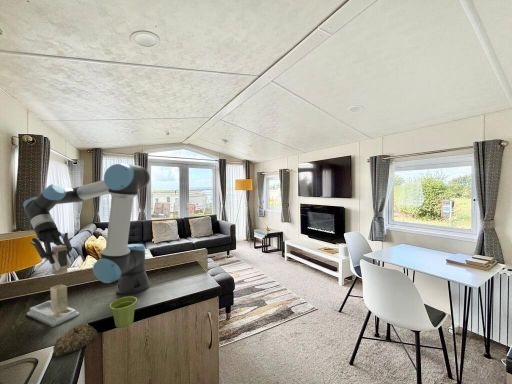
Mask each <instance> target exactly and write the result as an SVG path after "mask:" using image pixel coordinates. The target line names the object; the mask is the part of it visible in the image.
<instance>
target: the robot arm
mask: <svg viewBox="0 0 512 384" xmlns="http://www.w3.org/2000/svg"><path fill="white" fill-rule="evenodd" d="M150 176H151V175H150V173H149V171H148V170H147V169H146V168H145V167H144V166H140V165H133V164H127V163H114V164H112V165H110V166H108V168H106V170H105V172H104V174H103V179H102V180H98V181H95V182H92V183H88V184H84V185H80V186H76V187H72V188H65V187H63V186H62V185H60V184H57V183H56V184H55V183H51V184H49V185H48V186H47V187H46V188H44V189H43V190H42V192H40V194H39V195H37V197H33V196H32V197H30V198H29V199H26V200H25V201H24V202H23V205H22V206H23V209H24V212H25V214H26V215H27V217H28V220H29V221H30V224H31V226H32V229H33V230H34V232H35V235H36V237H32V239H30V240H31V241H30V244H31V245H33V246H34V248H35V250H36V252H37V253H38V255H39V257H40V259H45V260H47V261H48V262H49V264H50V265H52V264H53V265H54V267H55V269H56V271H57V270H59V268H60V267H61V266H60V264H59V262H58V260H57V258H56V256H55V255H53V256H52V246H51V245H52V243H53V244H54V245H55V246H59V245H64V246H67V268H70V267H71V266H72V264H73V263H72V261H71V258H72V256H71V254H70V253H72V250H73V246H72V244H71V242H70V239H69V233H68V232H65V233H62V232H60V231H59V230H58V227H57V224H56V223H55V220H54V218H53V217H52V215H51V213H50V211H51V210H52V209H53V208H54V207H55V206H56V205H59V204H61V205H62V204H69V203H70V204H71V203H81V202H85V201H87V200H89V199H93V198H96V197H97V198H98V197H101V196H105V195H111V201H110V209H109V216H108V217H109V218H108V226H107V234H106V243H105V247H104V248H103V249H102V250H101V252H100V258H99V259H98V260H96V261H95V263H93V267H92V271H93V274H94V276H95V277H96V279H97V280H99V281H100V282H101V283H105V284H110V283H113V282H116V281H118V282H117V285H116V293H118V294H121V295H132V294H138V293H140V292H142V291H145V290H146V289H147V288H149V287H150V279H149V277H148V275H147V272H146V248H145V245H144V244H140V243H130V244H129V235H130V227H131V219H132V212H133V211H132V210H133V203H134V199H135V197H137V196H138V193H139V192H138V191H139V189H143V188H145V187H146V186H147V185H148V184H149V183H150V180H151V179H150V178H151V177H150ZM41 243H43V244H41ZM43 246H44V247H43Z"/></svg>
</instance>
